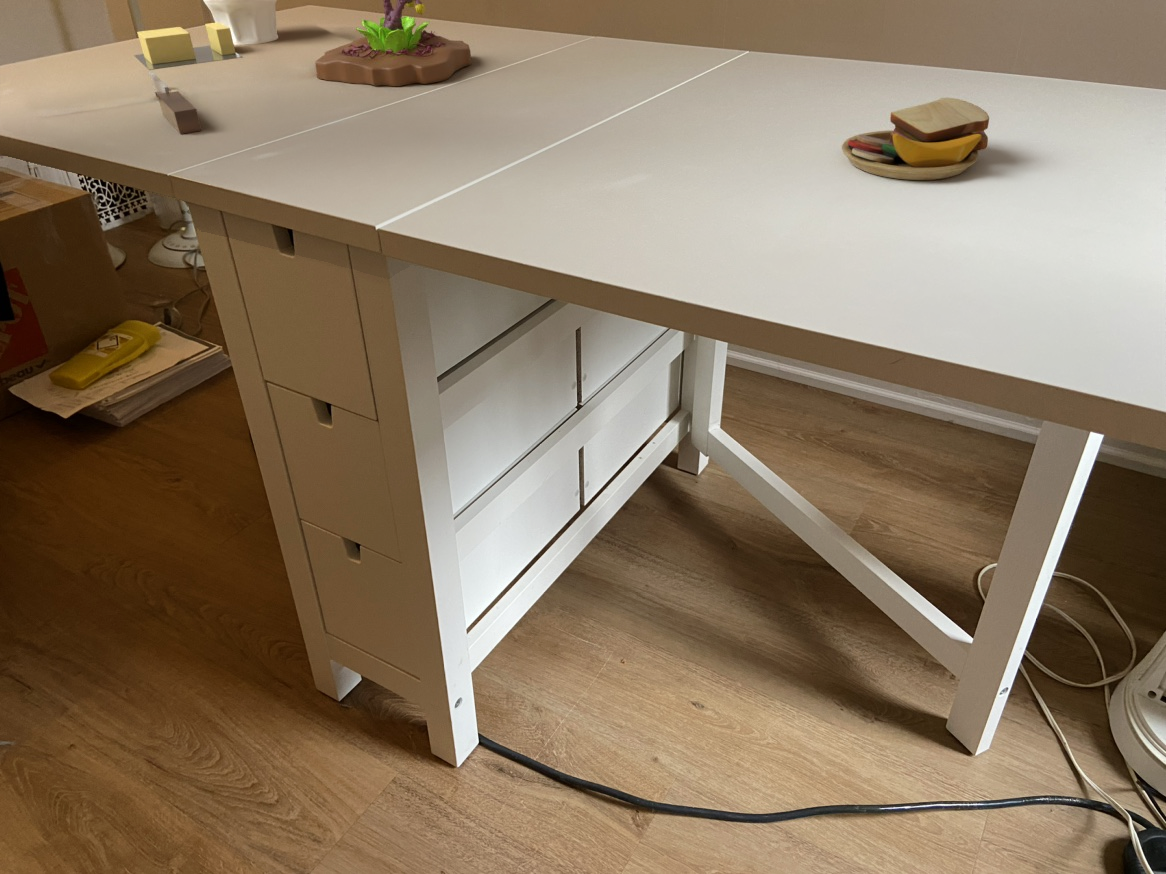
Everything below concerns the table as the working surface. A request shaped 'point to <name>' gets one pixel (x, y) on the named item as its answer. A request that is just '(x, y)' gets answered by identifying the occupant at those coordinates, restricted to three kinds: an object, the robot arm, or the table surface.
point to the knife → (176, 108)
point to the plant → (394, 53)
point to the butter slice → (220, 38)
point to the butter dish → (201, 55)
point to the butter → (166, 45)
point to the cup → (246, 19)
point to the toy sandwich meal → (923, 142)
